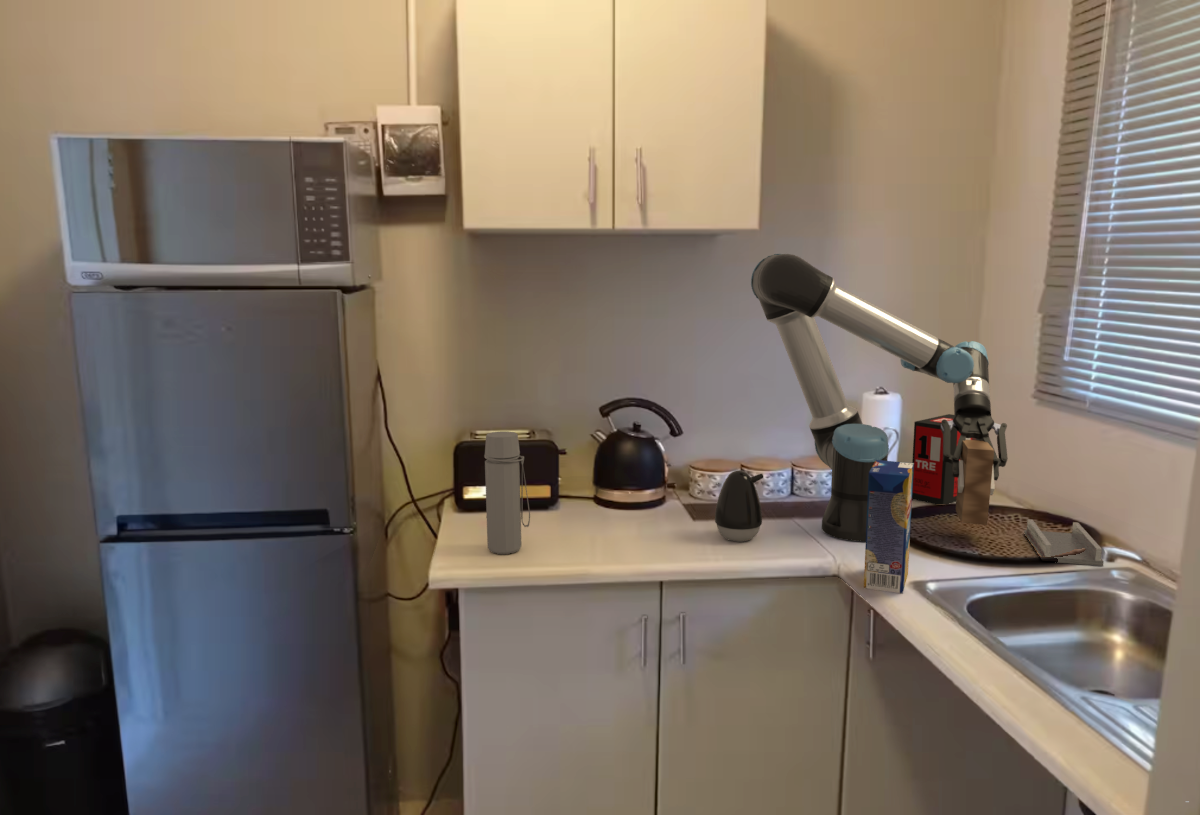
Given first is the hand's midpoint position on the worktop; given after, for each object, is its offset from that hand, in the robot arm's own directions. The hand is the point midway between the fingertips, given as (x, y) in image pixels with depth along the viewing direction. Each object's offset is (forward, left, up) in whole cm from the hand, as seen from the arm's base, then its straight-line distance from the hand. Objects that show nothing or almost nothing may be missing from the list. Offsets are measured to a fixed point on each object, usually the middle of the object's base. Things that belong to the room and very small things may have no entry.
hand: (976, 490), depth 180 cm
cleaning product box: (-2, +40, -12) cm, 42 cm away
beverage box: (-19, -26, -12) cm, 34 cm away
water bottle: (-95, -27, -12) cm, 99 cm away
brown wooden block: (0, +4, -7) cm, 8 cm away
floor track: (+17, +2, -12) cm, 21 cm away
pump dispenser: (-49, -7, -12) cm, 51 cm away
